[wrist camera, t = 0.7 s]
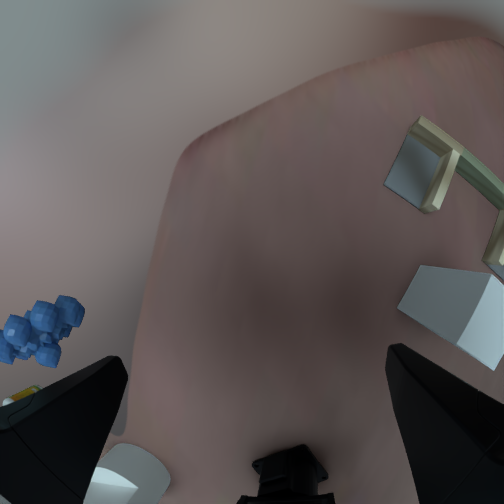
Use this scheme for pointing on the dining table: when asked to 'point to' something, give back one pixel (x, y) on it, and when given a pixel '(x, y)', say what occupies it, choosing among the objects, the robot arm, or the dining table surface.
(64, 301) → the grapes
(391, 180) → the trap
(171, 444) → the dining table surface
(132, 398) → the dining table surface
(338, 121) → the dining table surface
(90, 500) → the cylinder with rectangular tab
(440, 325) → the grey block
